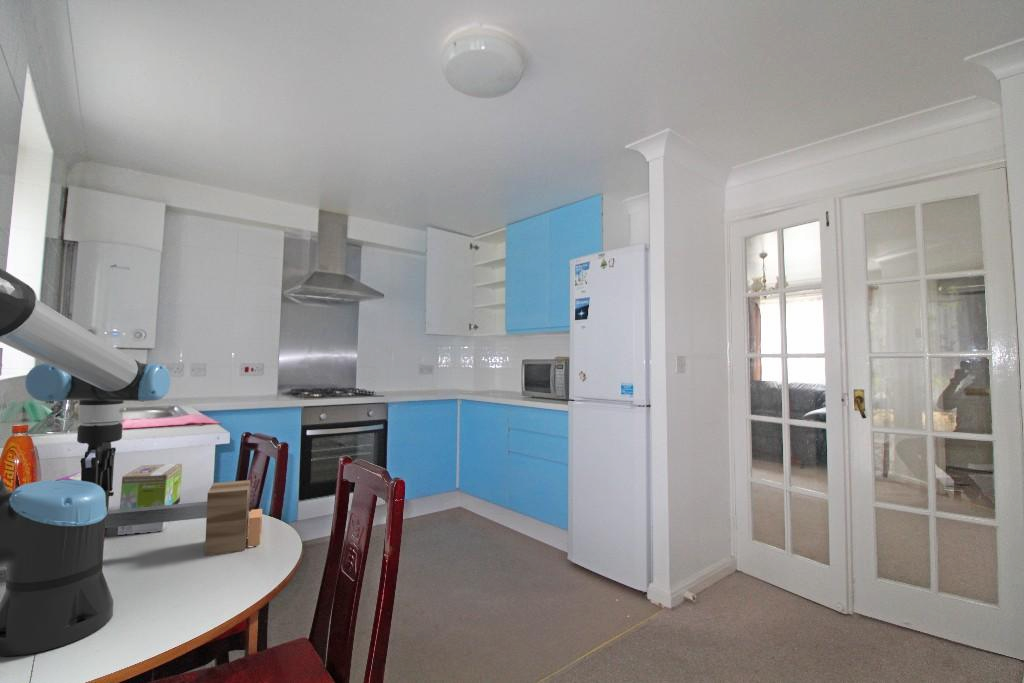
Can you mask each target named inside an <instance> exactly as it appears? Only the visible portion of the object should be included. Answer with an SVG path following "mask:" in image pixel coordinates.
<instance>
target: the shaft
mask: <svg viewBox="0 0 1024 683" xmlns="http://www.w3.org/2000/svg"><path fill="white" fill-rule="evenodd" d="M104 492H105V496H106V508H107V515H106V518H105V528H107V529H108V528H109V529H111V528H118V527H120V526H130V525H140V524H150V523H160V522H170V521H171V522H178V521H179V522H181V521H189V520H198V519H206V518H207V501H197V502H188V503H187V502H186V503H180V504H173V505H162V506H151V507H139V508H128V509H120V508H119V509H110V510H109V506H108V501H110V496H109V489H107V490H104ZM171 522H170V523H171Z"/></svg>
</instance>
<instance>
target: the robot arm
mask: <svg viewBox="0 0 1024 683" xmlns="http://www.w3.org/2000/svg"><path fill="white" fill-rule="evenodd" d="M0 343H2V344H4V345H6V346H8V347H10V348H12V349H14V350H17V351H20V352H21V353H24V354H26V355H27V356H30V357H32V358H34V359H37V360H38V361H41V362H43V363H39V364H37V365H35V366H34V367H32V368H30V370H29V371H28V373H27V374H26V377H25V385H24V386H25V389H26V392H27V394H28V395H30V397H31V398H33V399H34V400H37V401H40V402H52V403H53V402H55V403H57V402H61V401H78V412H77V414H78V415H77V423H79V426H78V427H77V436H76V442H78V443H80V444H87V445H88V446H87V450H86V451H85V452H84V457H81V459H80V467H81V468H80V469H81V470H80V472H81V481H80V480H59V481H55V479H54V480H52V479H51V480H49V479H48V480H40V481H33V482H30V483H26V484H21V485H19V486H18V487H16V488H15V489H14V490H9V489H8V488H7V486H6V485H5V482H4V480H3V478H2V476H1V475H0V568H6V573H5V574H6V575H5V576H6V577H5V578H6V579H5V591H4V593H3V596H2V598H1V601H0V656H1V657H13V656H16V657H17V656H23V655H30V654H37V653H41V652H44V651H48V650H52V649H55V648H59V647H62V646H66V645H68V644H71V643H73V642H77V641H79V640H80V639H83V638H86V637H88V636H90V635H92V634H93V633H95V632H97V631H99V630H100V629H102V628H103V627H105V625H107V624H108V623H109V622H110V620H111V619H112V618H113V615H114V598H113V595H112V592H111V591H110V589H109V585H108V582H107V581H106V578H105V575H104V573H103V565H104V564H103V560H104V548H105V535H106V534H105V518H106V515H107V508H106V496H105V492H104V490H107V489H109V497H113V496H114V495H115V493H114V491H113V489H114V488H113V486H114V485H113V482H114V471H115V470H114V467H115V455H116V450H117V449H116V447H112V443H113V442H118V441H121V439H122V438H123V426H124V425H123V424H122V423H121V422H122V421H123V420H124V418H123V417H124V413H125V412H126V411H127V407H124V402H140V403H141V402H142V403H144V402H146V401H147V402H149V401H150V402H151V401H159V400H161V399H163V398H164V397H166V395H167V394H168V391H169V390H170V386H171V375H170V371H169V370H168V368H167V366H164V365H163V364H157V363H152V362H148V363H143V362H140V361H138V360H137V359H135V358H133V357H131V356H129V355H128V354H126V353H125V352H123V351H121V349H118V348H117V347H115V346H113V345H112V344H110V343H108V342H107V341H105V340H103V339H101V338H100V337H99V336H97V335H96V334H94V333H92V332H90V331H89V330H87V329H86V328H85V327H83V326H81V325H79V324H78V323H76V322H74V321H72V320H71V319H70V318H68V317H66V316H65V315H63V314H61V313H60V312H58V311H56V310H55V309H53V308H52V307H51V306H48V305H46V303H43V302H42V301H41V300H38V296H37V293H36V291H35V289H33V287H31V286H30V285H29V284H27V283H26V282H24V281H22V280H21V279H19V278H17V277H16V276H14V275H13V274H11V273H9V272H8V271H6V270H4V269H2V268H0ZM104 534H105V535H104Z"/></svg>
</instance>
